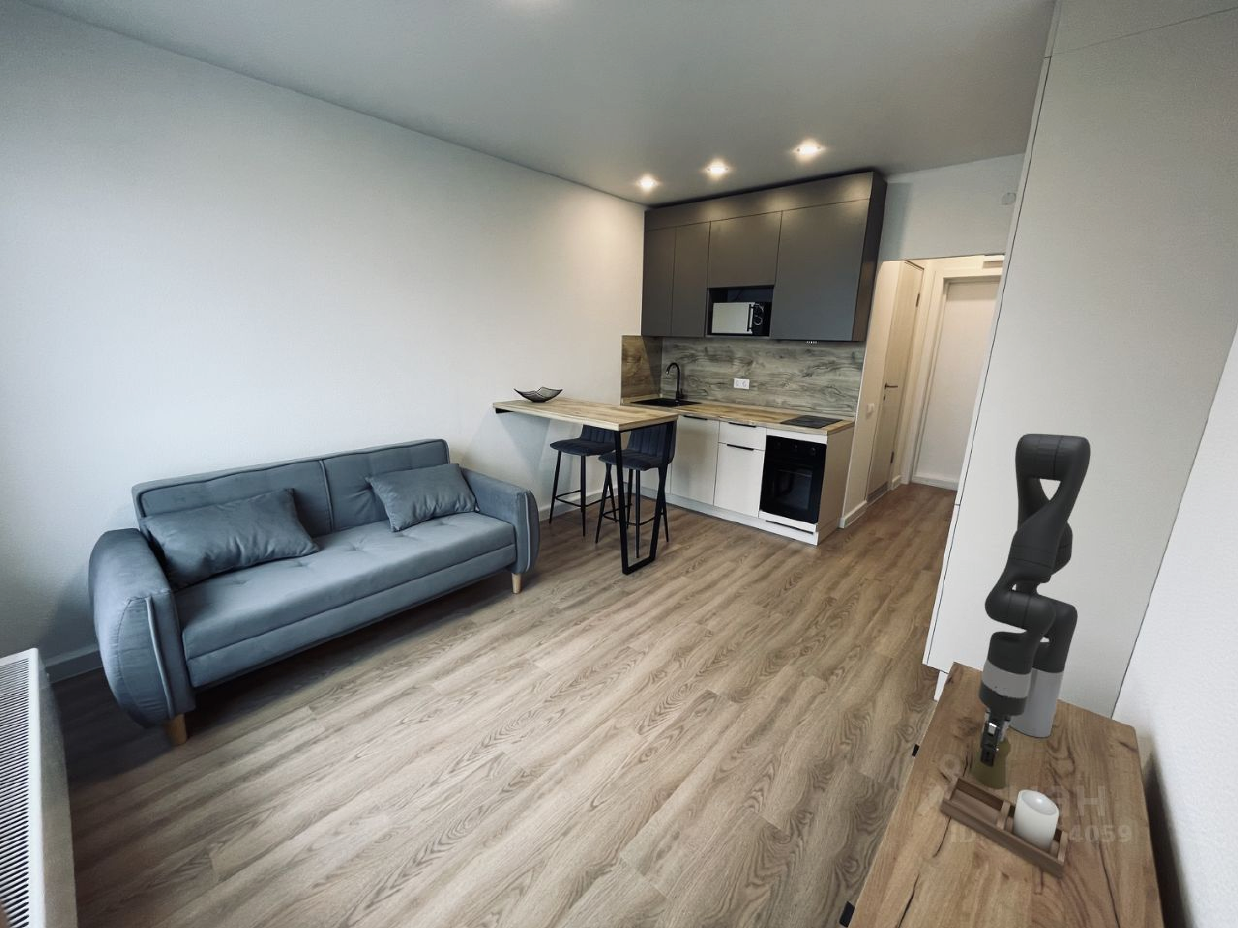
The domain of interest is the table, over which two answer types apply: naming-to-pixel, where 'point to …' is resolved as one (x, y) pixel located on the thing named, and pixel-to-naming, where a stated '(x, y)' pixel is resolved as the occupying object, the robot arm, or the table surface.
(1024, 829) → the salt shaker
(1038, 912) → the table surface
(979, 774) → the pepper shaker
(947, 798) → the caddy
